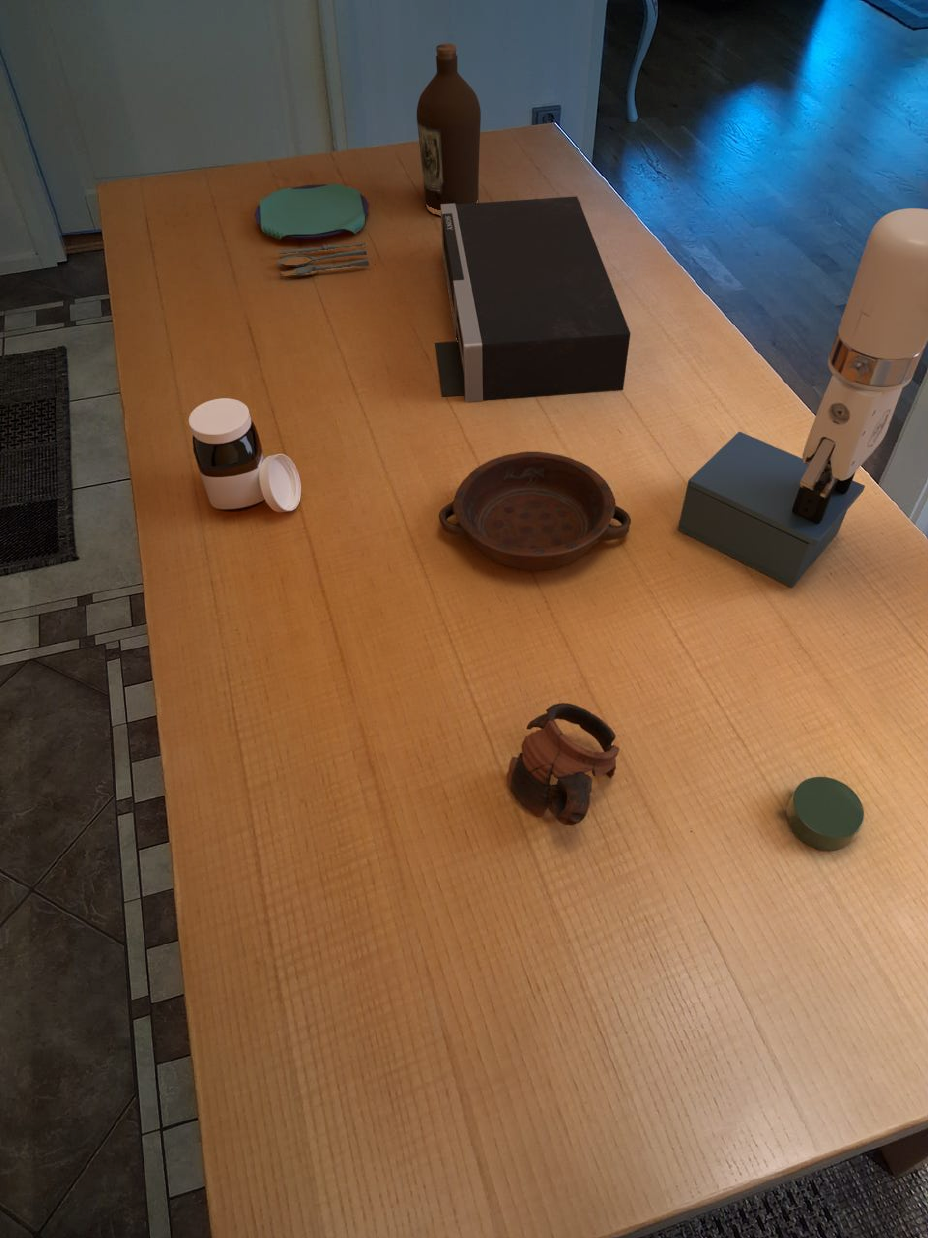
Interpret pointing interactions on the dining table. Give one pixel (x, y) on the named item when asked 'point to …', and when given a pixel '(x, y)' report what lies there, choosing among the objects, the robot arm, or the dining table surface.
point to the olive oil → (449, 134)
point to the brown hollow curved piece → (561, 764)
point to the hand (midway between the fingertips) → (819, 500)
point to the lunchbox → (750, 538)
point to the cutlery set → (314, 219)
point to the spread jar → (239, 460)
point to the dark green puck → (825, 813)
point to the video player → (528, 303)
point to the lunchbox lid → (768, 486)
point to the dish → (534, 510)
